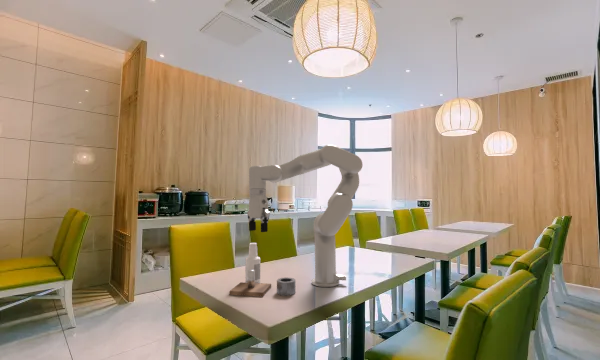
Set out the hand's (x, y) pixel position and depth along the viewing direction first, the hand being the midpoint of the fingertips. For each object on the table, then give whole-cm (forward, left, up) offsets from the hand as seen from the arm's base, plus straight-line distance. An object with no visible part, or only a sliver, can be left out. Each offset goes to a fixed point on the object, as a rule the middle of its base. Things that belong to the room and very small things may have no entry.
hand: (258, 231), depth 126 cm
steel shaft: (+1, +7, -22) cm, 24 cm away
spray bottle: (+4, -4, -24) cm, 25 cm away
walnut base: (+1, +7, -24) cm, 25 cm away
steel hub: (-14, +7, -24) cm, 29 cm away
